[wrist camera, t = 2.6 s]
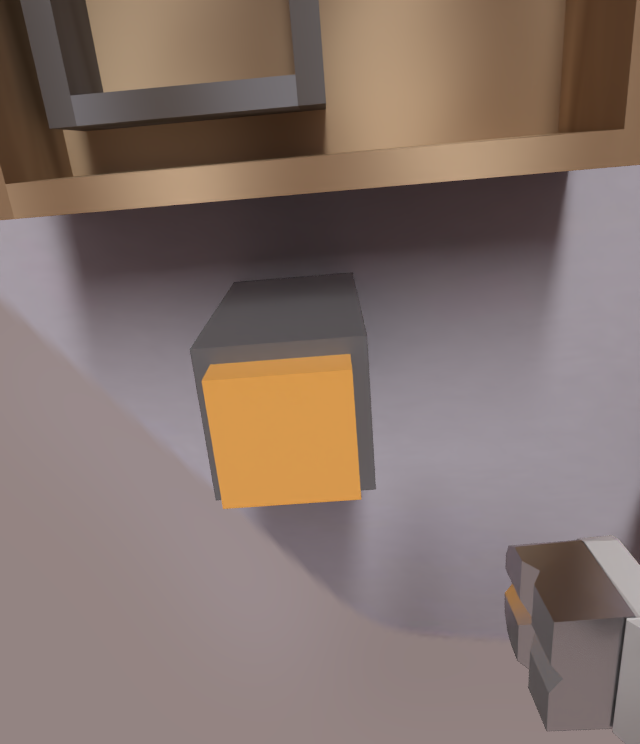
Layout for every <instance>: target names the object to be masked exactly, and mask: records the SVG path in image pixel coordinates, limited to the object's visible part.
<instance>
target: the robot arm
mask: <svg viewBox="0 0 640 744" xmlns="http://www.w3.org/2000/svg"><path fill="white" fill-rule="evenodd" d="M506 571H507V573H508V575H509V577H510V579H511V582H512V585H511V586H510V587H509V589H508V590H507V591H506V592H505V617H506V624H507V631H508V635H509V638H510V642H511V645H512V648H513V650H514V653H515V656H516V658H517V661H518V662H520V663H521V664H522V665H524V666H525V667H526V668H528V669H529V687H528V688H529V690H530V693H531V695H532V697H533V700H534V702H535V705H536V707H537V709H538V712H539V714H540V716H541V719H542V721H543V724H544V726H545V729H546V731H566V730H591V729H613V730H612V732H613V733H614V734H615V735H616V736H617V737H618V738H619V739H621V740H622V741H623V742H624V743H625V744H640V565H639V563H638V562H637V561H636V560H635V559H634V557H633V556H632V555H631V554H630V552H629V551H628V550H627V549H626V548H625V546H624V545H623V544H622V543H621V541H620V540H619V539H618V538H616V537H614V536H612V535H609V536H599V537H590V538H580V539H577V540H571V541H558V542H546V543H534V544H522V545H510V546H508V550H507V553H506Z"/></svg>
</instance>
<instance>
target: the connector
mask: <svg viewBox="0 0 640 744" xmlns="http://www.w3.org/2000/svg"><path fill="white" fill-rule="evenodd" d="M190 353H191V359H192V365H193V371H194V376H195V382H196V388H197V394H198V400H199V405H200V411H201V417H202V423H203V429H204V434H205V440H206V446H207V452H208V457H209V463H210V469H211V475H212V481H213V486H214V492H215V498H216V500H222V505H223V509H228V508H243V507H258V506H272V505H287V504H302V503H316V502H331V501H346V500H360V499H361V490H374V489H376V484H375V466H374V449H373V431H372V414H371V396H370V379H369V362H368V344H367V333H366V329H365V325H364V320H363V316H362V312H361V307H360V303H359V299H358V294H357V290H356V286H355V282H354V277H353V273H343V274H330V275H318V276H306V277H294V278H282V279H269V280H257V281H245V282H234V283H233V285H232V286H231V288H230V289H229V291H228V292H227V294H226V295H225V297H224V298H223V300H222V302H221V303H220V305H219V306H218V308H217V309H216V311H215V312H214V314H213V315H212V317H211V318H210V320H209V321H208V323H207V324H206V326H205V327H204V329H203V330H202V332H201V333H200V335H199V336H198V338H197V339H196V341H195V342H194V344H193V345H192V347H191V348H190Z"/></svg>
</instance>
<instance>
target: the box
mask: <svg viewBox="0 0 640 744" xmlns="http://www.w3.org/2000/svg"><path fill="white" fill-rule="evenodd" d="M630 165H640V0H0V220H8V219H20V218H31V217H43V216H54V215H66V214H77V213H89V212H100V211H112V210H123V209H135V208H146V207H158V206H169V205H181V204H192V203H204V202H215V201H227V200H238V199H250V198H262V197H273V196H285V195H296V194H308V193H319V192H331V191H342V190H354V189H365V188H377V187H388V186H400V185H411V184H423V183H434V182H446V181H457V180H469V179H480V178H492V177H503V176H515V175H526V174H538V173H550V172H561V171H573V170H584V169H596V168H607V167H619V166H630Z"/></svg>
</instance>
